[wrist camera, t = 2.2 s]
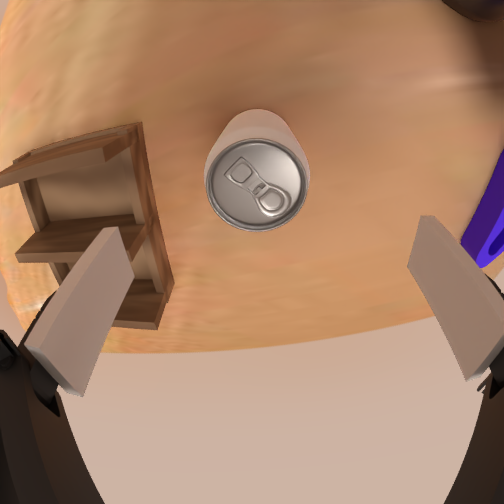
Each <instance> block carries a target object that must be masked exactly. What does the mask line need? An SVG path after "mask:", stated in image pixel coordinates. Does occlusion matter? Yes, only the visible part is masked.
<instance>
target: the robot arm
mask: <svg viewBox="0 0 504 504" xmlns="http://www.w3.org/2000/svg"><path fill="white" fill-rule="evenodd" d="M443 1H444V2H445V3H446V4H447V5H449V6H450V7H451V8H453V9H454V10H455V11H457V12H458V13H460V14H462V15H463V16H465V17H467V18H470V19H472V20H475V21H479V22H497V21H502V20H504V0H443ZM407 267H408V269H409V270H410V272H411V274H412V275H413V277H414V279H415V280H416V282H417V284H418V285H419V287H420V289H421V291H422V292H423V294H424V296H425V298H426V299H427V301H428V303H429V305H430V307H431V309H432V310H433V312H434V314H435V316H436V318H437V320H438V322H439V324H440V326H441V328H442V329H443V332H444V334H445V336H446V338H447V340H448V341H449V344H450V346H451V348H452V350H453V353H454V355H455V357H456V359H457V361H458V364H459V366H460V368H461V371H462V373H463V375H464V378H465V380H466V381H470V380H472V379H475V378H478V377H480V376H481V375H482V374H483V373H484V372H485V370H486V369H487V368H488V367H490V370H491V373H490V374H489V376H488V377H487V378H486V379H485V380H484V381H483V382H482V383H481V384H480V386H479V387H478V389H477V391H480V390H481V389H482V388H483V387H484V386H485V385H486V387H485V389H484V390H483V392H482V393H483V394H484V396H483V400H482V404H481V408H480V412H479V416H478V419H477V422H476V426H475V429H474V433H473V435H472V438H471V441H470V444H469V447H468V450H467V453H466V455H465V458H464V461H463V463H462V465H461V468H460V471H459V473H458V475H457V477H456V480H455V482H454V484H453V486H452V488H451V490H450V492H449V495H448V496H447V498H446V500H445V502H444V504H504V294H503V293H501V290H500V289H499V287H498V286H497V284H496V283H495V282H494V281H493V280H492V279H491V278H490V277H488V276H487V275H486V274H484V272H483V271H482V270H481V269H480V267H479V266H478V265H477V264H476V262H475V261H474V260H473V259H472V258H471V256H470V255H469V254H468V253H467V252H466V250H465V249H464V248H463V247H462V246H461V245H460V243H459V242H458V241H457V240H456V239H455V238H454V237H453V236H452V234H451V233H450V232H449V231H448V230H447V229H446V228H445V227H444V226H443V225H442V224H441V223H440V222H439V221H438V219H437V218H436V217H435V216H420V221H419V225H418V229H417V233H416V237H415V241H414V244H413V248H412V251H411V255H410V258H409V262H408V265H407ZM134 277H135V276H134V273H133V270H132V268H131V265H130V262H129V259H128V256H127V253H126V250H125V247H124V244H123V241H122V238H121V235H120V232H119V229H118V227H108V228H103V229H102V231H101V232H100V233H99V234H98V235H97V237H96V238H95V239H94V240H93V242H92V243H91V244H90V246H89V247H88V248H87V249H86V251H85V252H84V253H83V255H82V256H81V257H80V259H79V260H78V261H77V263H76V264H75V265H74V267H73V268H72V270H71V271H70V272H69V274H68V275H67V277H66V278H65V279H64V281H63V282H62V284H61V285H60V287H59V288H58V290H57V291H55V292H54V293H53V294H52V295H51V296H50V297H49V298H47V300H46V301H45V303H44V304H43V306H42V307H41V311H39V312H38V313H37V315H36V319H34V320H33V322H32V323H31V325H30V327H29V328H28V330H27V332H26V334H25V335H24V337H23V339H22V340H21V342H20V344H19V346H18V347H17V346H16V345H15V344H14V342H13V341H12V340H11V339H10V337H9V336H8V335H7V333H6V332H5V331H4V330H0V504H105V503H104V502H103V500H102V498H101V496H100V494H99V492H98V490H97V489H96V486H95V484H94V482H93V480H92V478H91V476H90V474H89V472H88V470H87V468H86V465H85V463H84V461H83V458H82V456H81V454H80V452H79V449H78V447H77V444H76V441H75V439H74V436H73V433H72V431H71V428H70V425H69V422H68V419H67V416H66V413H65V410H64V407H63V403H62V400H61V397H60V395H59V393H58V392H57V391H56V389H57V386H58V385H60V386H61V387H62V388H63V389H64V390H65V391H66V392H67V393H69V394H73V395H77V396H80V397H83V396H84V393H85V390H86V387H87V385H88V382H89V379H90V376H91V374H92V371H93V369H94V366H95V363H96V361H97V359H98V356H99V354H100V351H101V349H102V347H103V344H104V342H105V339H106V337H107V335H108V332H109V330H110V328H111V326H112V323H113V321H114V319H115V317H116V314H117V312H118V310H119V308H120V306H121V304H122V302H123V299H124V297H125V295H126V293H127V291H128V289H129V287H130V285H131V283H132V281H133V279H134Z"/></svg>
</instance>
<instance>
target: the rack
mask: <svg viewBox="0 0 504 504" xmlns="http://www.w3.org/2000/svg"><path fill="white" fill-rule="evenodd" d="M15 183H19V186H20V189H21V193H22V196H23V199H24V202H25V205H26V208H27V211H28V214H29V217H30V219H31V222H32V225H33V227H34V230H35V233H34V234H33V235H32V236H31V237H30V238H29V239H28V240H27V241H26V242H25V243H24V244H23V245H22V246H21V248H20V249H19V250H18V251H17V252H16V253H15V256H16V258H17V260H18V262H19V263H49V265H50V267H51V269H52V271H53V274H54V276H55V278H56V280H57V282H58V284H59V286H60V285H61V284H62V282H63V281H64V279H65V278H66V277H67V275H68V274H69V272H70V271H71V270H72V268H73V267H74V265H75V264H76V263H77V261H78V260H79V259H80V257H81V256H82V255H83V253H84V252H85V251H86V249H87V248H88V247H89V246H90V244H91V243H92V242H93V240H94V239H95V238H96V237H97V235H98V234H99V233H100V232H101V231H102V229H103V228H108V227H118V229H119V232H120V235H121V238H122V241H123V244H124V247H125V250H126V253H127V256H128V259H129V262H130V265H131V268H132V270H133V273H134V276H135V277H134V279H133V281H132V283H131V285H130V287H129V289H128V291H127V293H126V295H125V297H124V299H123V302H122V304H121V306H120V308H119V310H118V312H117V314H116V317H115V319H114V321H113V323H112V327H122V328H134V329H148V330H158V327H159V323H160V320H161V317H162V314H163V311H164V308H165V305H166V303H168V301H169V298H170V295H171V292H172V289H173V286H174V280H173V276H172V272H171V268H170V264H169V260H168V256H167V252H166V248H165V244H164V239H163V235H162V231H161V226H160V222H159V217H158V212H157V207H156V203H155V198H154V193H153V187H152V182H151V177H150V171H149V165H148V159H147V153H146V147H145V140H144V134H143V127H142V122H140V123H134V124H129V125H124V126H119V127H114V128H110V129H105V130H101V131H97V132H93V133H89V134H85V135H81V136H77V137H74V138H70V139H66V140H63V141H60V142H56V143H53V144H50V145H47V146H44V147H41V148H38V149H35V150H32V151H30V152H28V153H26V154H24V155H22V156H21V157H19V158H17V159H15V160H14V161H13V165H11V166H10V167H8V168H6V169H5V170H3V171H2V172H0V188H2V187H5V186H8V185H12V184H15Z"/></svg>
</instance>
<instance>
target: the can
mask: <svg viewBox="0 0 504 504" xmlns="http://www.w3.org/2000/svg"><path fill="white" fill-rule="evenodd" d="M309 183H310V169H309V164H308V161H307V158H306V155H305V153H304V151H303V149H302V148H301V146H300V144H299V142H298V141H297V139H296V138H295V136H294V134H293V133H292V131H291V130H290V128H289V127H288V125H287V124H286V123H285V121H284V120H283V119H282V118H281V117H279V116H278V115H276V114H275V113H273V112H270V111H267V110H263V109H251V110H247V111H244V112H242V113H240V114H238V115H236V116H235V117H234V118H233V119H232V120H231V121H230V122H229V123H228V124H227V126H226V127H225V129H224V130H223V132H222V133H221V135H220V136H219V138H218V139H217V141H216V142H215V144H214V146H213V147H212V149H211V151H210V153H209V155H208V157H207V160H206V163H205V168H204V184H205V188H206V192H207V196H208V200H209V202H210V204H211V206H212V208H213V209H214V211H215V212H216V213H217V215H218V216H219V217H220V218H221V219H222V220H224V221H225V222H226V223H228V224H230V225H231V226H233V227H235V228H238V229H241V230H245V231H251V232H263V231H269V230H273V229H276V228H279V227H281V226H283V225H284V224H286V223H288V222H289V221H290V220H291V219H293V218H294V217H295V216H296V215H297V213H298V212H299V211H300V209H301V208H302V206H303V204H304V202H305V199H306V195H307V191H308V188H309Z"/></svg>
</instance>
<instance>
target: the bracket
mask: <svg viewBox="0 0 504 504" xmlns="http://www.w3.org/2000/svg"><path fill="white" fill-rule="evenodd" d="M461 246H462V247H463V248H464V249H465V250H466V252H467V253H468V254H469V255H470V256H471V258H472V259H473V260H474V261H475V262H476V264H477V265H478V266H479V267H480V268H483V267H485V266H487V265H488V264H489V263H490V262H492V261H493V260H494V259H495V258H496V257H497V256H499V255H500V254H501V253H502V252H503V251H504V149H503V151H502V153H501V155H500V157H499V160H498V162H497V165H496V167H495V170H494V172H493V175H492V177H491V180H490V182H489V184H488V186H487V189H486V191H485V193H484V195H483V197H482V199H481V202H480V204H479V206H478V208H477V210H476V212H475V214H474V216H473V218H472V220H471V221H470V223H469V225H468V227H467V229H466V231H465V233H464V234H463V236H462V239H461Z"/></svg>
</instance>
